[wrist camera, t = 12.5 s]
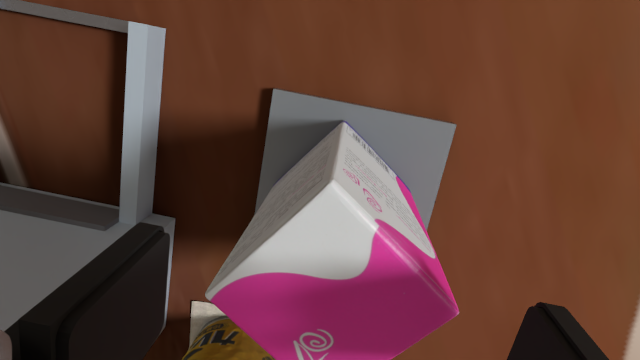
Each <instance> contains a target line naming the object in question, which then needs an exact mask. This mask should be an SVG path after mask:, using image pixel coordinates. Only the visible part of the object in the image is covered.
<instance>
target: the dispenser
mask: <svg viewBox="0 0 640 360" xmlns="http://www.w3.org/2000/svg"><path fill="white" fill-rule="evenodd" d="M165 32H166V29H165V28H160V27H155V26H151V25H146V24H141V23H135V22H130V21H129V24H128V45H127V65H126V85H125V106H124V126H123V146H122V166H121V187H120V207H118V206H113V205H108V204H104V203H99V202H94V201H89V200H84V199H79V198H74V197H69V196H64V195H59V194H55V193H50V192H45V191H40V190H35V189H30V188H25V187H20V186H15V185H10V184H6V183H1V182H0V330H2V331H5V330H6V329H8V328H9V327H10V326H11V325H13V324H14V323H15V322H16V321H18V319H19V318H21V317H22V316H23V315H24V314H26V313H27V312H28V311H29V310H31V309H32V308H33V307H34V306H35V305H37V304H38V303H39V302H40V301H42V300H43V299H44V298H45V297H47V296H48V295H49V294H50V293H52V292H53V291H54V290H55V289H57V288H58V287H59V286H60V285H62V284H63V283H64V282H65V281H67V280H68V279H69V278H70V277H72V276H73V275H74V274H75V273H77V272H78V271H79V270H80V269H81V268H83V267H84V266H85V265H86V264H88V263H89V262H90V261H91V260H93V259H94V258H95V257H96V256H98V255H99V254H100V253H101V252H103V251H104V250H105V249H106V248H108V247H109V246H110V245H111V244H113V243H114V242H115V241H116V240H118V239H119V238H120V237H121V236H123V235H124V234H125V233H126V232H127V231H129V230H130V229H131V228H132V227H134V226H135V225H136V224H137V223H139V222H143V223H148V224H153V225H158V226H162V227H163V228H164V233H169V234H170V249H169V263H168V276H167V290H166V304H165V318H164V324H163V327H162V330H161V332H162V331H163V329H164V328H165V327H166V317H167V306H168V295H169V284H170V273H171V262H172V251H173V240H174V229H175V218H172V217H167V216H162V215H157V214H153V213H152V208H153V195H154V181H155V167H156V154H157V140H158V127H159V113H160V100H161V86H162V72H163V59H164V45H165ZM161 332H160V334H161ZM160 334H159V335H160ZM157 338H158V337H157ZM155 341H156V340H155Z"/></svg>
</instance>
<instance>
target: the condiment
mask: <svg viewBox="0 0 640 360" xmlns="http://www.w3.org/2000/svg"><path fill="white" fill-rule="evenodd" d="M182 360H275V359H274V358H273V357H272V356H271V355H270V354H269V353H268V352H266V351H265V350H264V349H263V348H262V347H261V346H260V345H259V344H257V343H256V342H255V341H254V340H253V339H252V338H251V337H250V336H249V335H247V334H246V333H245V332H244V331H243V330H242V329H241V328H240V327H238V326H237V325H236V324H235V323H234V322H233V321H232V320H231V319H230V318H229V317H228V316H227V315H225V314H224V313H223V312H222V311H221V310H220V309H218V308H217V307H216V306H215V305H214V304H211V303H206V302H199V301H192V307H191V328H190V344H189V349H188V351H187V353H186V354H185V356H184V357H183V358H182Z"/></svg>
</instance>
